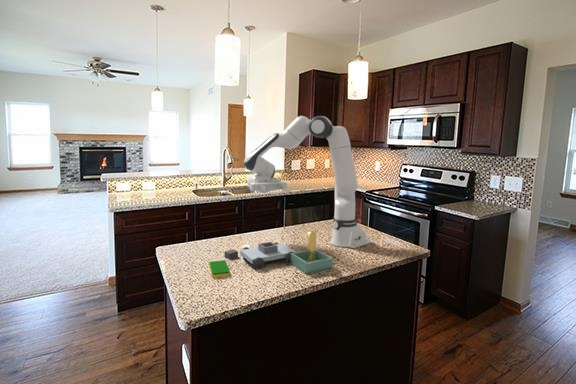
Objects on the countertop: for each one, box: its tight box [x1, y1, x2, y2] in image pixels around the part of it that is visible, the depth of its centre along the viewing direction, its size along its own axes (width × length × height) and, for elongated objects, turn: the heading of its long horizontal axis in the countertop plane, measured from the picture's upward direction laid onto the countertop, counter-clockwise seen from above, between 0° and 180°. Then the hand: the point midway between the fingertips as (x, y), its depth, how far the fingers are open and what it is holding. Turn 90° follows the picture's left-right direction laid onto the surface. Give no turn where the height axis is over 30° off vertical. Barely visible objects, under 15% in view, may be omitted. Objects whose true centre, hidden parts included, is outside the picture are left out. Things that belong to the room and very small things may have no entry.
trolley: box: [239, 241, 296, 270], centre depth 152 cm, size 22×16×8 cm
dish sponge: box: [208, 259, 231, 279], centre depth 140 cm, size 7×14×2 cm, turn 18°
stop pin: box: [307, 230, 317, 262], centre depth 144 cm, size 4×4×15 cm
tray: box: [290, 248, 334, 276], centre depth 145 cm, size 14×14×5 cm
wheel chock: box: [224, 248, 239, 260], centre depth 156 cm, size 5×4×3 cm
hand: (274, 187), depth 164 cm, fingers open, 8 cm apart
